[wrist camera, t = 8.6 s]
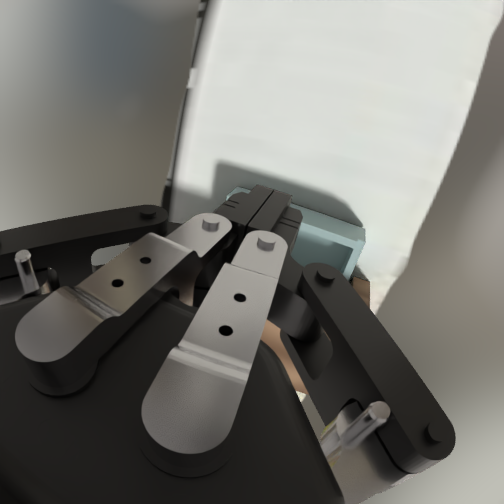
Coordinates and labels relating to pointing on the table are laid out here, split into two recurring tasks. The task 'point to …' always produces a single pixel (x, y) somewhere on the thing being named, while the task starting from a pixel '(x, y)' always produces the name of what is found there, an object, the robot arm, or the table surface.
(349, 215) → the table surface
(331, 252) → the light blue square tray
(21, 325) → the robot arm
